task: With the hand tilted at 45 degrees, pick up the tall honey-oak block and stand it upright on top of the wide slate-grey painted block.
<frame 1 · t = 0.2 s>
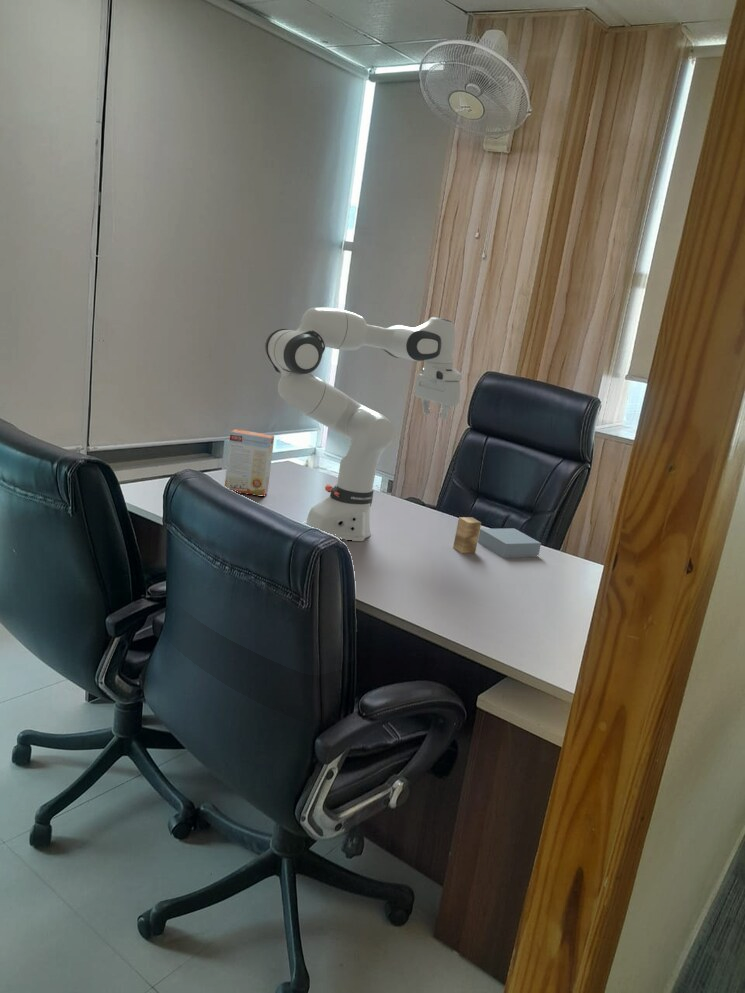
hand: (434, 416, 246), 38 cm above the table, tool pointing down, fingers open, 8 cm apart
oak block: (464, 550, 245), on the table
grey base block: (507, 550, 254), on the table
cracker box: (245, 493, 269), on the table
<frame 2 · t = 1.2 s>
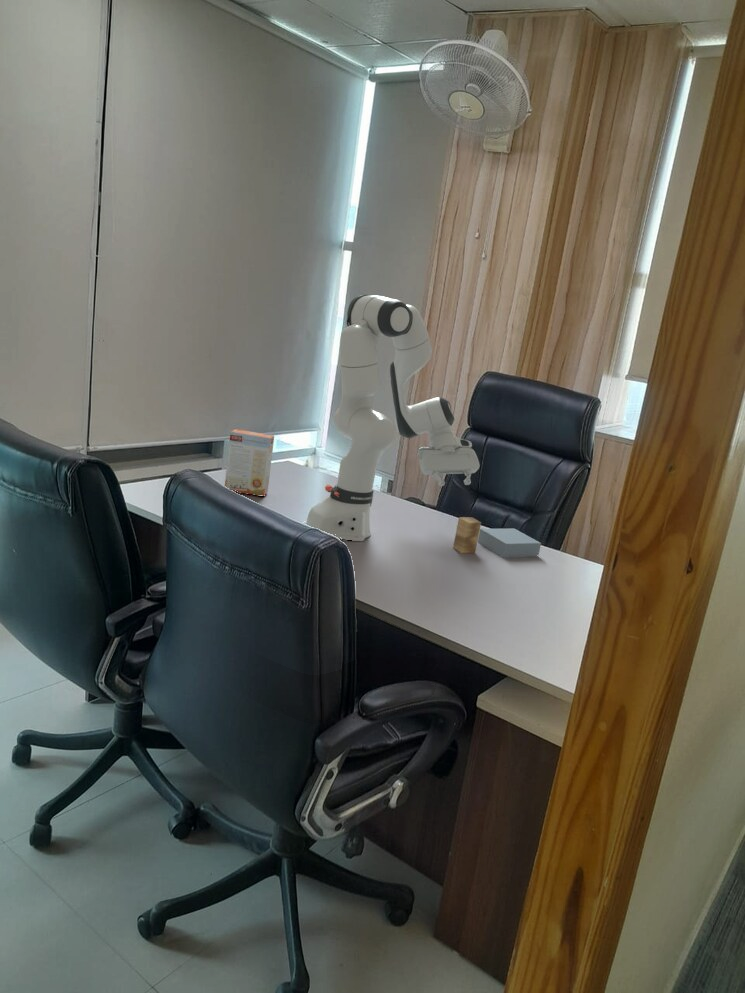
hand: (455, 484, 251), 18 cm above the table, tool tilted 45°, fingers open, 8 cm apart
nothing on the table moved.
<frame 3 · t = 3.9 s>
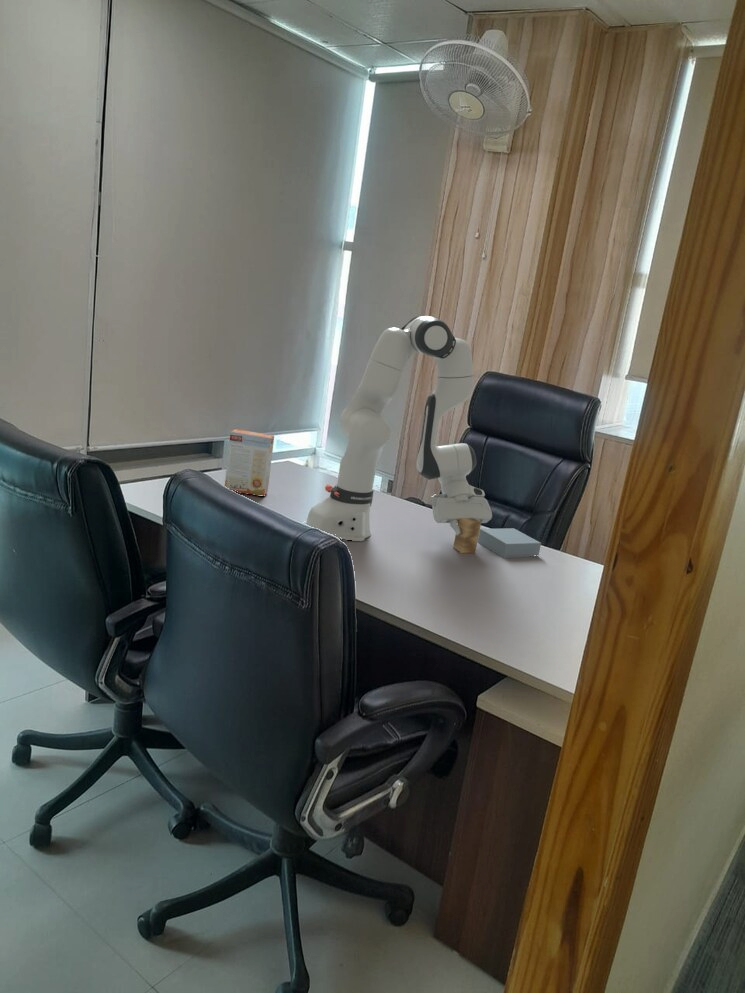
hand: (468, 534, 244), 5 cm above the table, tool tilted 45°, fingers closed on oak block, 5 cm apart
oak block: (464, 550, 245), on the table, touching gripper
everything else where it was.
when the fingers open (12 cm above the table, at t = 9.4 s): oak block drops 2 cm, resting on grey base block.
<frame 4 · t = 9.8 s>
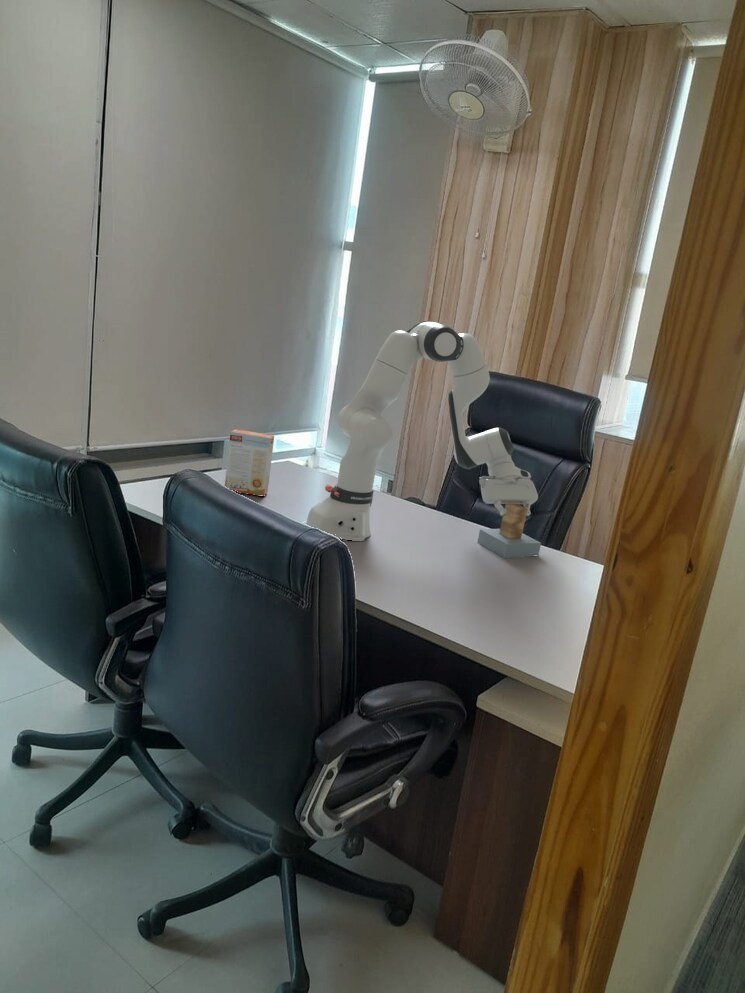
hand: (516, 514, 250), 12 cm above the table, tool tilted 45°, fingers open, 8 cm apart
oak block: (510, 535, 252), point 5 cm above the table, touching grey base block
grey base block: (507, 550, 254), on the table, touching oak block
everything else where it was.
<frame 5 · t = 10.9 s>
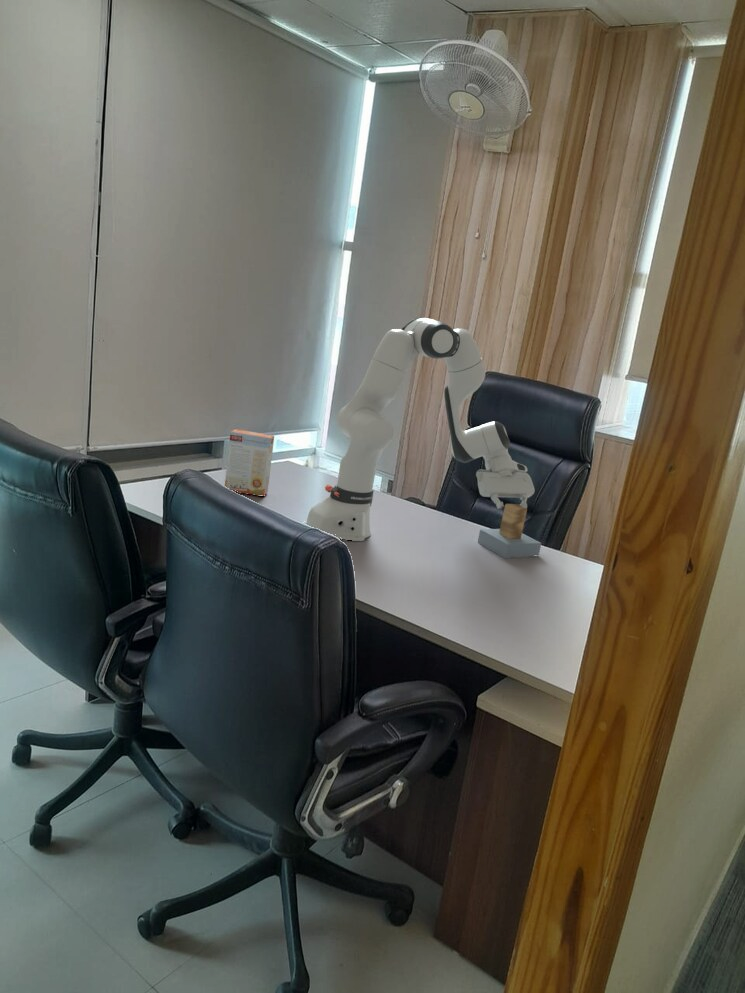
hand: (512, 508, 251), 13 cm above the table, tool tilted 45°, fingers open, 8 cm apart
nothing on the table moved.
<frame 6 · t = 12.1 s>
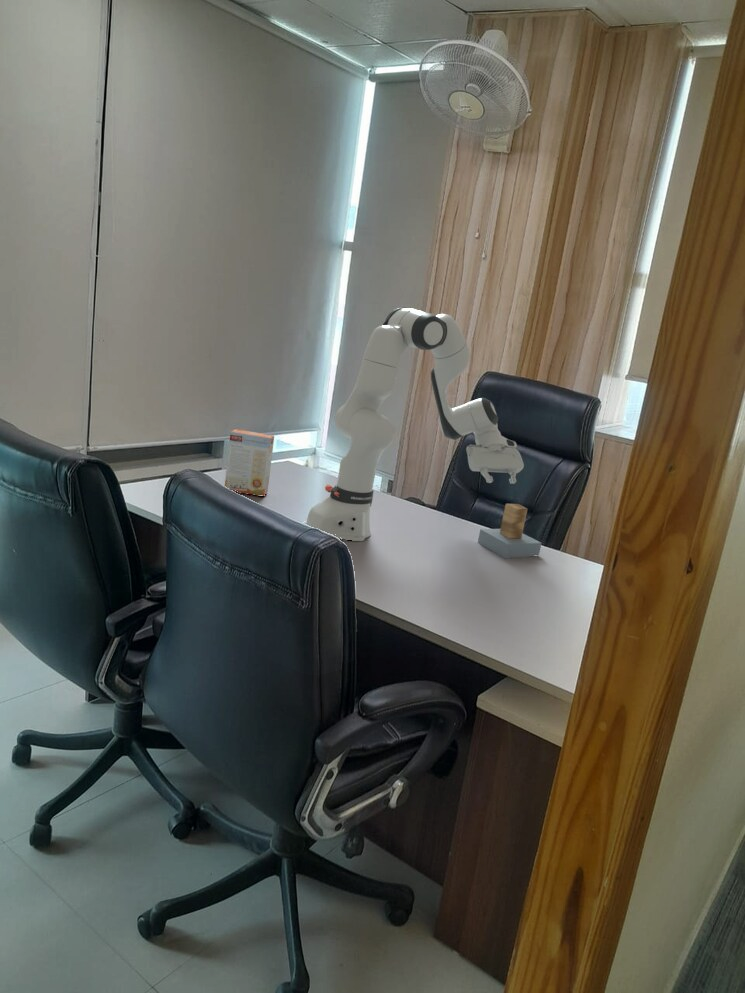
hand: (501, 482, 256), 20 cm above the table, tool tilted 45°, fingers open, 8 cm apart
oak block: (510, 535, 252), point 5 cm above the table
grey base block: (507, 550, 254), on the table
everything else where it was.
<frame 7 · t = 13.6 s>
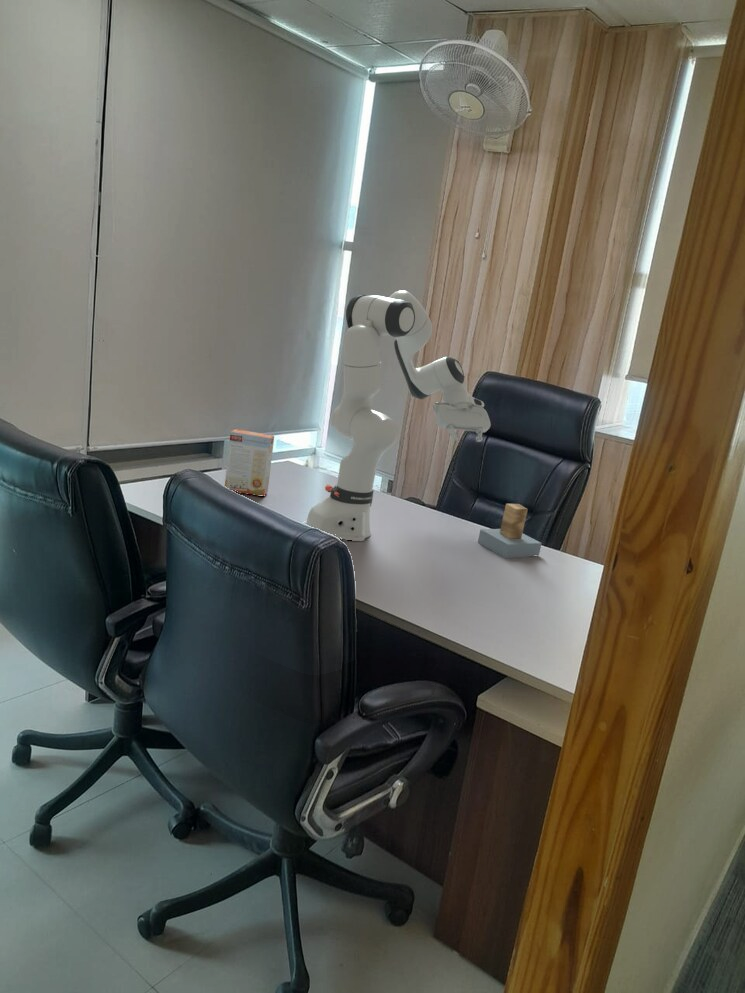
hand: (468, 439, 259), 31 cm above the table, tool tilted 45°, fingers open, 8 cm apart
nothing on the table moved.
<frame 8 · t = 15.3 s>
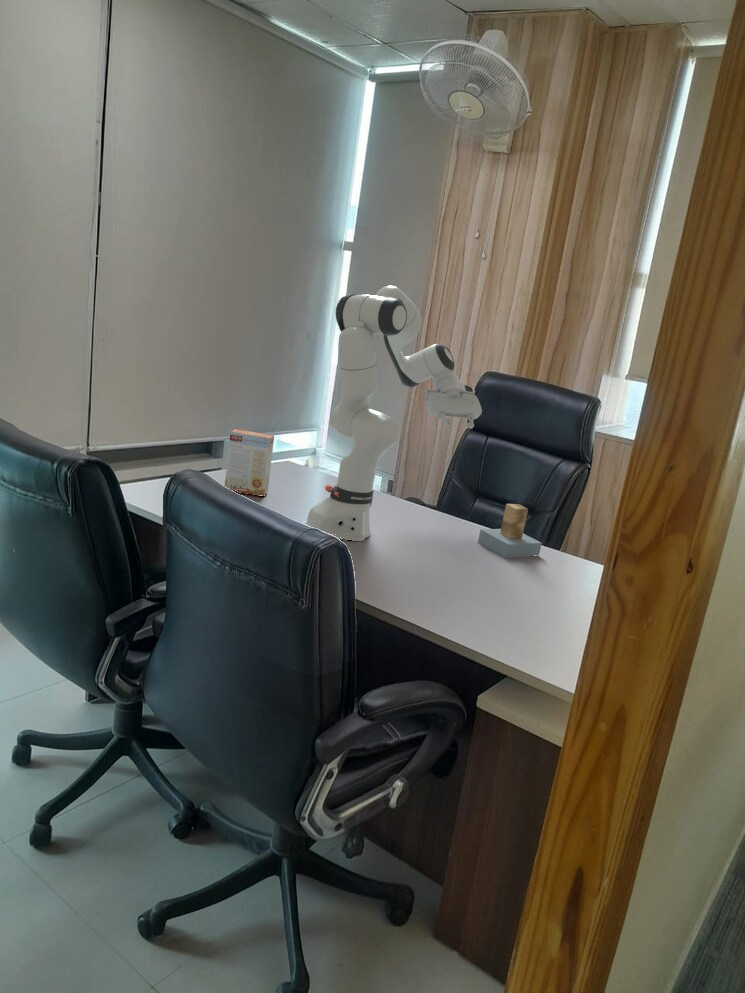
hand: (459, 426, 259), 34 cm above the table, tool tilted 45°, fingers open, 8 cm apart
oak block: (510, 536, 252), point 4 cm above the table, touching grey base block
grey base block: (507, 550, 254), on the table, touching oak block
everything else where it was.
at the end: oak block inside the target area on the grey base block (0.0 cm from its centre), point 5.0 cm above the grey base block's base; oak block tilted 0°; the gripper is holding nothing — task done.
